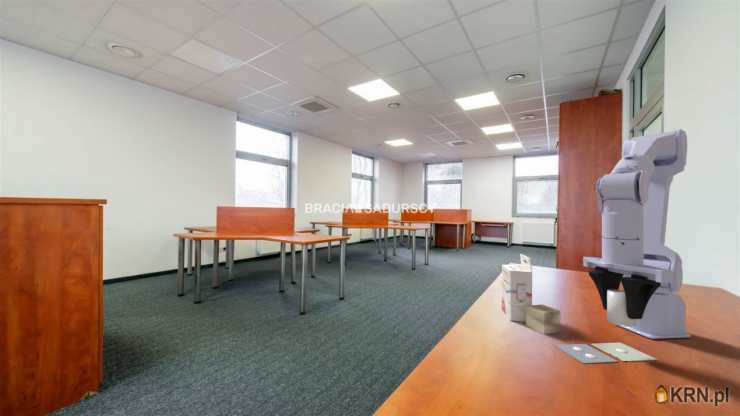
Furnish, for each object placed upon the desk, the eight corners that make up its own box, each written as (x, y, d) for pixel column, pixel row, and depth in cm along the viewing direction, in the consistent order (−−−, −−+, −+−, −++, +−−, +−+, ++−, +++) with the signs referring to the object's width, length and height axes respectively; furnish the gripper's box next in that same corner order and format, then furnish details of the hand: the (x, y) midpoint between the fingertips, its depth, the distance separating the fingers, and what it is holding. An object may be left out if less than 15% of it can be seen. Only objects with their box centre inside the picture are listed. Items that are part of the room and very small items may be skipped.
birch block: (542, 324, 65) (542, 304, 65) (560, 332, 61) (560, 310, 61) (526, 326, 64) (526, 305, 64) (543, 334, 59) (543, 312, 59)
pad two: (585, 344, 55) (585, 343, 55) (617, 361, 48) (617, 360, 48) (554, 345, 54) (554, 344, 54) (583, 363, 48) (583, 362, 48)
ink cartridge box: (500, 309, 75) (500, 252, 75) (521, 310, 74) (521, 253, 74) (509, 321, 66) (510, 257, 66) (533, 323, 65) (533, 258, 66)
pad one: (620, 343, 56) (620, 342, 56) (657, 360, 49) (657, 358, 49) (590, 344, 55) (590, 343, 55) (623, 361, 48) (623, 360, 48)
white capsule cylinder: (620, 318, 54) (620, 288, 54) (642, 326, 50) (642, 294, 50) (601, 318, 54) (601, 289, 54) (622, 327, 50) (622, 295, 50)
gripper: (569, 235, 59) (569, 301, 59) (645, 242, 45) (645, 330, 44) (600, 235, 60) (600, 301, 60) (684, 242, 46) (684, 329, 45)
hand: (621, 313), depth 52 cm, fingers closed on white capsule cylinder, 4 cm apart
